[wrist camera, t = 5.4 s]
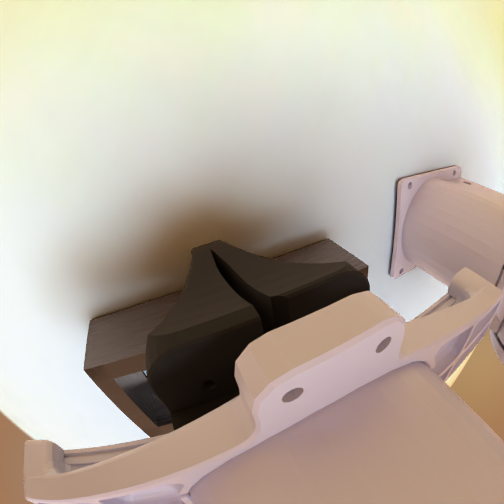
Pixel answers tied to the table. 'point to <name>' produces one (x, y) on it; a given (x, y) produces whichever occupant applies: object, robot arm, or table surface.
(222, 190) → the table surface
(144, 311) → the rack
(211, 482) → the robot arm
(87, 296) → the table surface
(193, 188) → the table surface
